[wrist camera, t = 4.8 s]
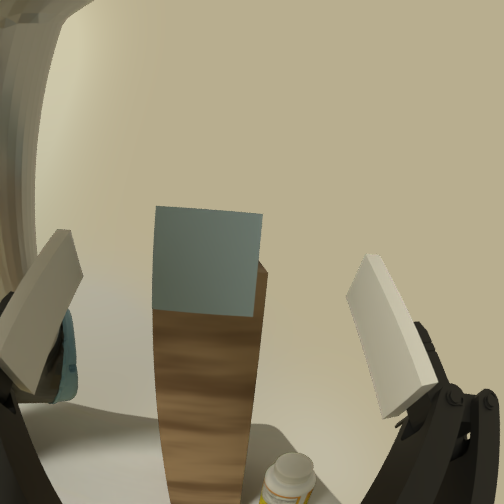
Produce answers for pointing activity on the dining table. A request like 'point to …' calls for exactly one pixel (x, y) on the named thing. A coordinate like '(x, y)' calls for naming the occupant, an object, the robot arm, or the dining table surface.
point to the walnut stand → (206, 398)
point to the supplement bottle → (289, 480)
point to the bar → (205, 261)
